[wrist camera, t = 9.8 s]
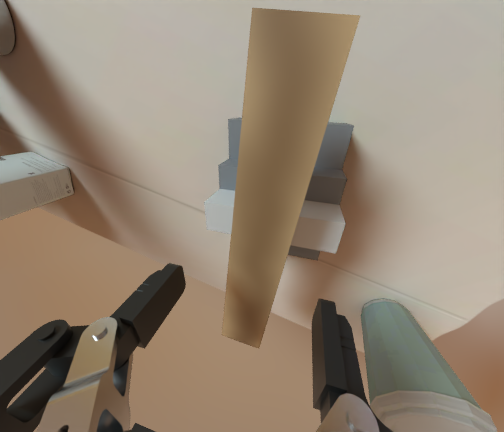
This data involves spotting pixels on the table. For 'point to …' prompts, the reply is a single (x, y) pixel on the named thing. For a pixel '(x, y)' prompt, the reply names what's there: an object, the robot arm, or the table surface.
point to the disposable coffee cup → (413, 376)
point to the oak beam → (278, 151)
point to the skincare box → (31, 183)
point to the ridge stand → (316, 200)
